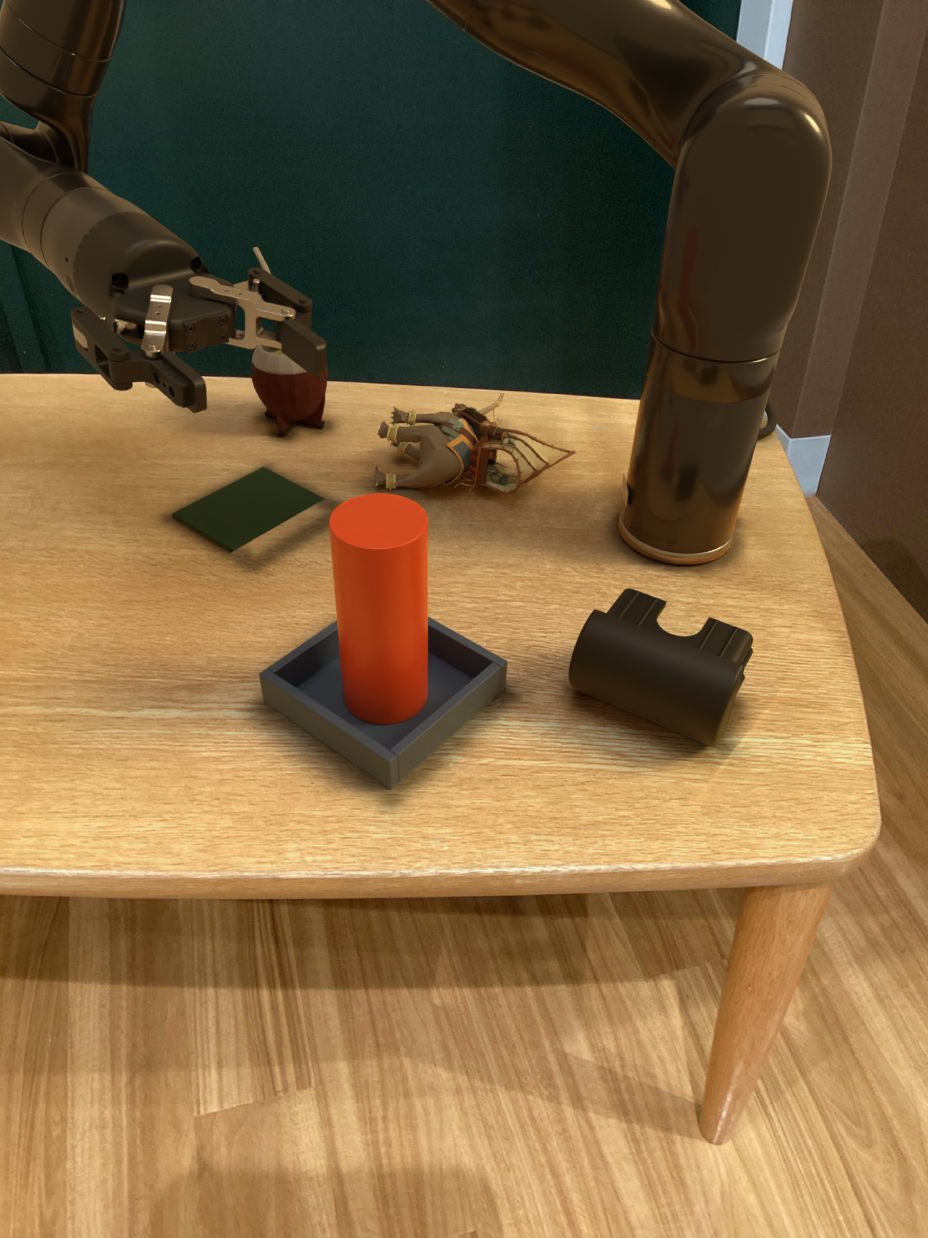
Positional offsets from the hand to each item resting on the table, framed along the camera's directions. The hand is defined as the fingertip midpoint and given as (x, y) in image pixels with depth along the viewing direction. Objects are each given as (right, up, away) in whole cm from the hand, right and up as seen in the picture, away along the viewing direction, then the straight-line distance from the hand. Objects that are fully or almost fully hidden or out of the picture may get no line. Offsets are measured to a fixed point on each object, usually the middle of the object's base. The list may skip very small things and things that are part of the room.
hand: (264, 379), depth 55 cm
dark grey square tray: (+7, -20, +6) cm, 22 cm away
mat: (-5, -5, +23) cm, 24 cm away
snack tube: (+7, -19, +6) cm, 21 cm away
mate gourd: (-5, +5, +35) cm, 36 cm away
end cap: (+25, -20, +7) cm, 33 cm away
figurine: (+13, -2, +28) cm, 31 cm away
